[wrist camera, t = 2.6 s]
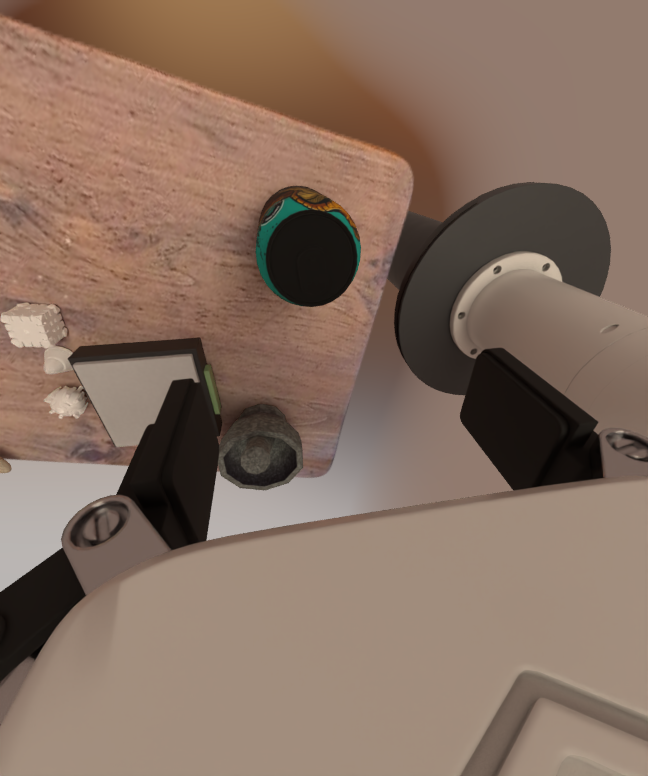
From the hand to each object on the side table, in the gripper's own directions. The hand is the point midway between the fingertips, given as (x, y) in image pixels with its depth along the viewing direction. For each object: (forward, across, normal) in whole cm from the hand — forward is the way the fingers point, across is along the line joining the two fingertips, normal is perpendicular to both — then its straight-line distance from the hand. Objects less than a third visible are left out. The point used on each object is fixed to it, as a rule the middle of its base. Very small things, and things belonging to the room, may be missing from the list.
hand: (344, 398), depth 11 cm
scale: (+24, +16, +14) cm, 33 cm away
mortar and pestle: (+24, +6, +20) cm, 32 cm away
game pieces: (+24, +25, +10) cm, 36 cm away
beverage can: (+24, -1, -2) cm, 24 cm away
